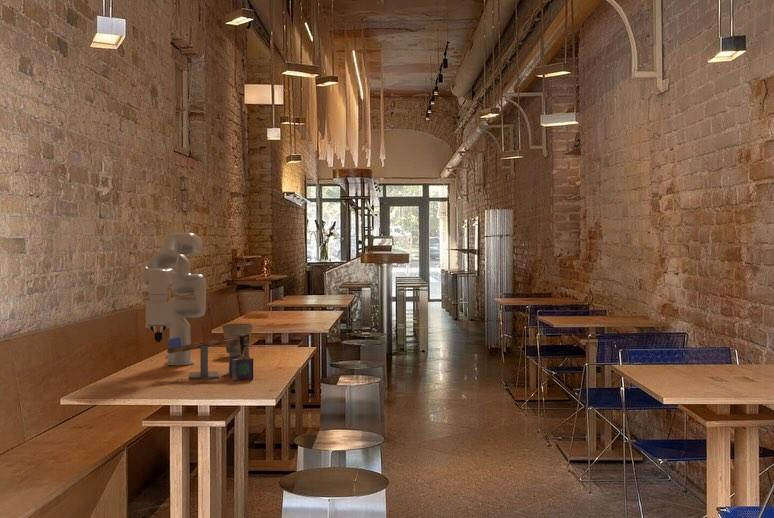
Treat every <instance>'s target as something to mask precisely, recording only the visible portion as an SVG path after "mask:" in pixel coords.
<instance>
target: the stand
mask: <svg viewBox="0 0 774 518" xmlns="http://www.w3.org/2000/svg"><path fill="white" fill-rule="evenodd" d="M208 348H209V347H208V346H200V348H199V349H200V351H199V353H200V355H199V356H200V358H199V360H200V367H199V369H200V371H194V372H193V371H192V372H189V380H190V381H194V380H219V379H220V374H219V371H218V370H217V371H209V349H208ZM233 359H236V355H233V356H229V355H228V376H229V377H232V360H233Z"/></svg>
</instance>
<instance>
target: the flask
mask: <svg viewBox="0 0 774 518" xmlns="http://www.w3.org/2000/svg"><path fill="white" fill-rule="evenodd" d="M240 358H241V359H233V360H232V376H231V380H232V382H242V381H252V380H254V358H253V357H250V356H249V357H248V358H247V357H244V356H243V354H242V355H241V357H240Z"/></svg>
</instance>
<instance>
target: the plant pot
mask: <svg viewBox="0 0 774 518" xmlns="http://www.w3.org/2000/svg"><path fill="white" fill-rule="evenodd" d="M222 331H223V336H224V338H223V339H226V338H229V336H230V335H234V334H249V343H250V341H251V337H252V332H253V324H252V323H226V324H222Z"/></svg>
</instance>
